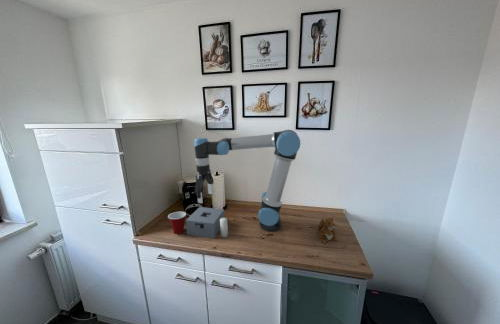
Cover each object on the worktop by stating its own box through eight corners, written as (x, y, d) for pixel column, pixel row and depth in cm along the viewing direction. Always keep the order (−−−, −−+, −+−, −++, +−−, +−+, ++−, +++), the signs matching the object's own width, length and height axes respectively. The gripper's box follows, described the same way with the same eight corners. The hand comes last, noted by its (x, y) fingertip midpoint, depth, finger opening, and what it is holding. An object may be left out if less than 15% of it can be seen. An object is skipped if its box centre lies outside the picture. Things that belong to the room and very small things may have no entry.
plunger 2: (215, 212, 138) (215, 209, 138) (210, 219, 130) (210, 215, 129) (210, 211, 139) (209, 208, 139) (204, 218, 131) (204, 215, 130)
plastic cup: (190, 226, 132) (188, 210, 129) (184, 236, 122) (182, 218, 119) (174, 226, 133) (172, 210, 130) (166, 236, 122) (164, 218, 120)
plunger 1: (208, 221, 127) (208, 218, 126) (201, 229, 118) (201, 226, 118) (201, 221, 128) (201, 217, 127) (195, 228, 119) (194, 225, 119)
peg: (228, 234, 124) (228, 218, 121) (226, 238, 120) (225, 221, 117) (222, 233, 125) (221, 217, 122) (219, 237, 121) (218, 221, 118)
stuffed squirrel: (324, 244, 113) (325, 224, 110) (311, 230, 127) (313, 212, 124) (339, 242, 115) (342, 222, 112) (326, 229, 129) (327, 210, 125)
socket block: (224, 222, 137) (224, 209, 134) (214, 238, 120) (213, 223, 117) (200, 219, 141) (199, 206, 138) (187, 234, 124) (185, 220, 121)
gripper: (206, 159, 130) (209, 190, 135) (185, 170, 106) (189, 206, 111) (217, 159, 128) (219, 190, 133) (198, 170, 104) (201, 207, 109)
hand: (205, 198), depth 122 cm, fingers open, 13 cm apart
